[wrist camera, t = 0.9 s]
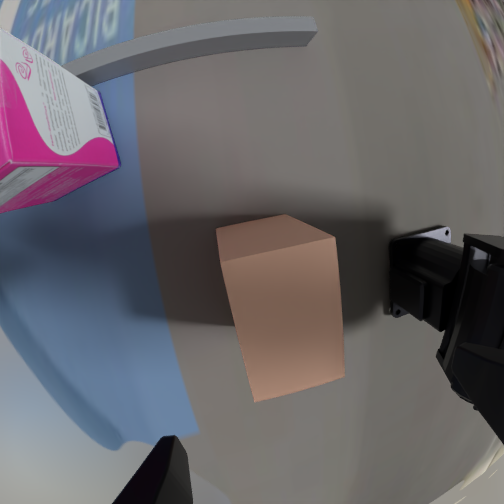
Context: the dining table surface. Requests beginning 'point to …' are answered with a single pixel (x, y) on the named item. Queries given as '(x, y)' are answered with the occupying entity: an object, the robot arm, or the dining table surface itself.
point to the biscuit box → (284, 303)
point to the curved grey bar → (192, 45)
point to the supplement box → (47, 129)
